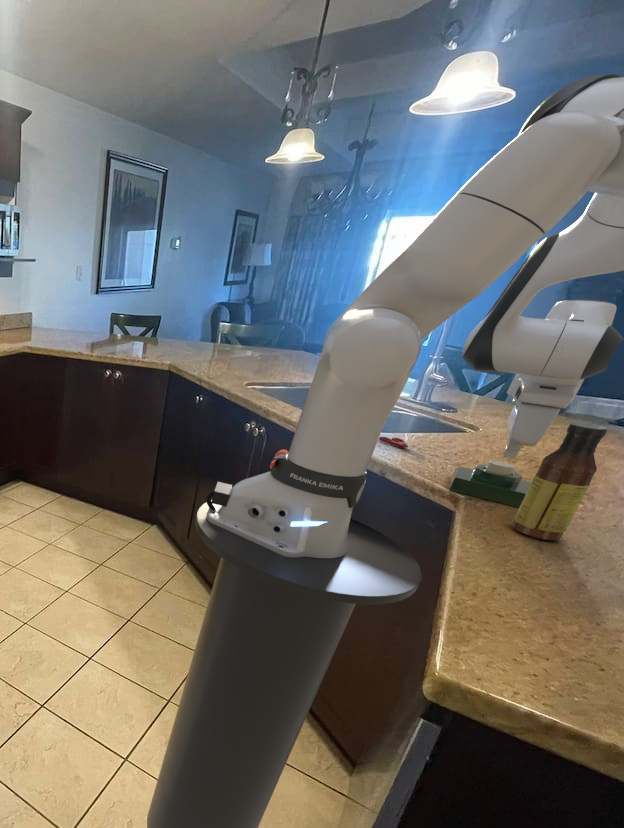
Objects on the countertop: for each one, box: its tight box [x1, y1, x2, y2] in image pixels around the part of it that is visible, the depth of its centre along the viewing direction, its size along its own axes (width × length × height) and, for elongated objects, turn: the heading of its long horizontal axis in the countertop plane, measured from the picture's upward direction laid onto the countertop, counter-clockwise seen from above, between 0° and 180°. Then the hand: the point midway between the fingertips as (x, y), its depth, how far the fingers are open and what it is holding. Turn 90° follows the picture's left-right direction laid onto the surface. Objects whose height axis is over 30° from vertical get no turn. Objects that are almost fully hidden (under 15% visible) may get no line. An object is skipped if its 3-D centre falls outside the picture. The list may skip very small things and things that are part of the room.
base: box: [448, 464, 532, 509], centre depth 102 cm, size 12×10×5 cm
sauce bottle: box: [512, 422, 608, 542], centre depth 83 cm, size 6×6×20 cm
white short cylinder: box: [485, 459, 517, 476], centre depth 100 cm, size 4×4×2 cm
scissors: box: [378, 436, 425, 457], centre depth 127 cm, size 5×14×1 cm, turn 173°
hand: (508, 456), depth 99 cm, fingers closed
